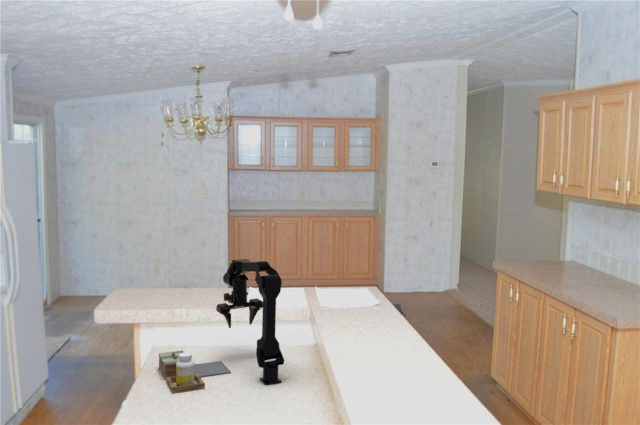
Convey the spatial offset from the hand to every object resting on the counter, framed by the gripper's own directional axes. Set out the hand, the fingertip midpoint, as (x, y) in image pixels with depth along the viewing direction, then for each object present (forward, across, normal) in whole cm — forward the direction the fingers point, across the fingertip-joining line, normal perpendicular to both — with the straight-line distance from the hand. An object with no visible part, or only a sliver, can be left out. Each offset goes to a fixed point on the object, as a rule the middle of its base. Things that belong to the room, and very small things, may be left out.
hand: (240, 326), depth 226 cm
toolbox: (+13, +28, +10) cm, 33 cm away
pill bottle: (+13, +29, +18) cm, 36 cm away
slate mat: (+14, +16, +6) cm, 22 cm away
